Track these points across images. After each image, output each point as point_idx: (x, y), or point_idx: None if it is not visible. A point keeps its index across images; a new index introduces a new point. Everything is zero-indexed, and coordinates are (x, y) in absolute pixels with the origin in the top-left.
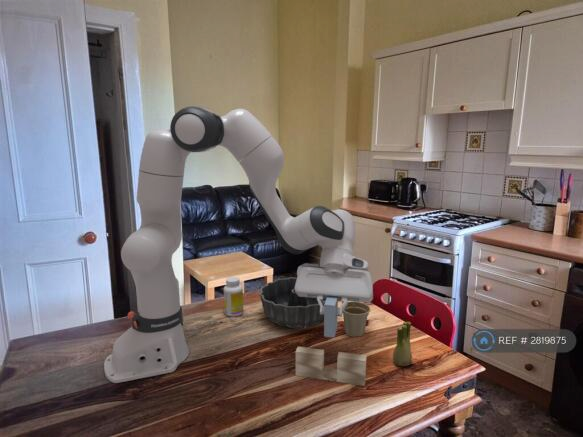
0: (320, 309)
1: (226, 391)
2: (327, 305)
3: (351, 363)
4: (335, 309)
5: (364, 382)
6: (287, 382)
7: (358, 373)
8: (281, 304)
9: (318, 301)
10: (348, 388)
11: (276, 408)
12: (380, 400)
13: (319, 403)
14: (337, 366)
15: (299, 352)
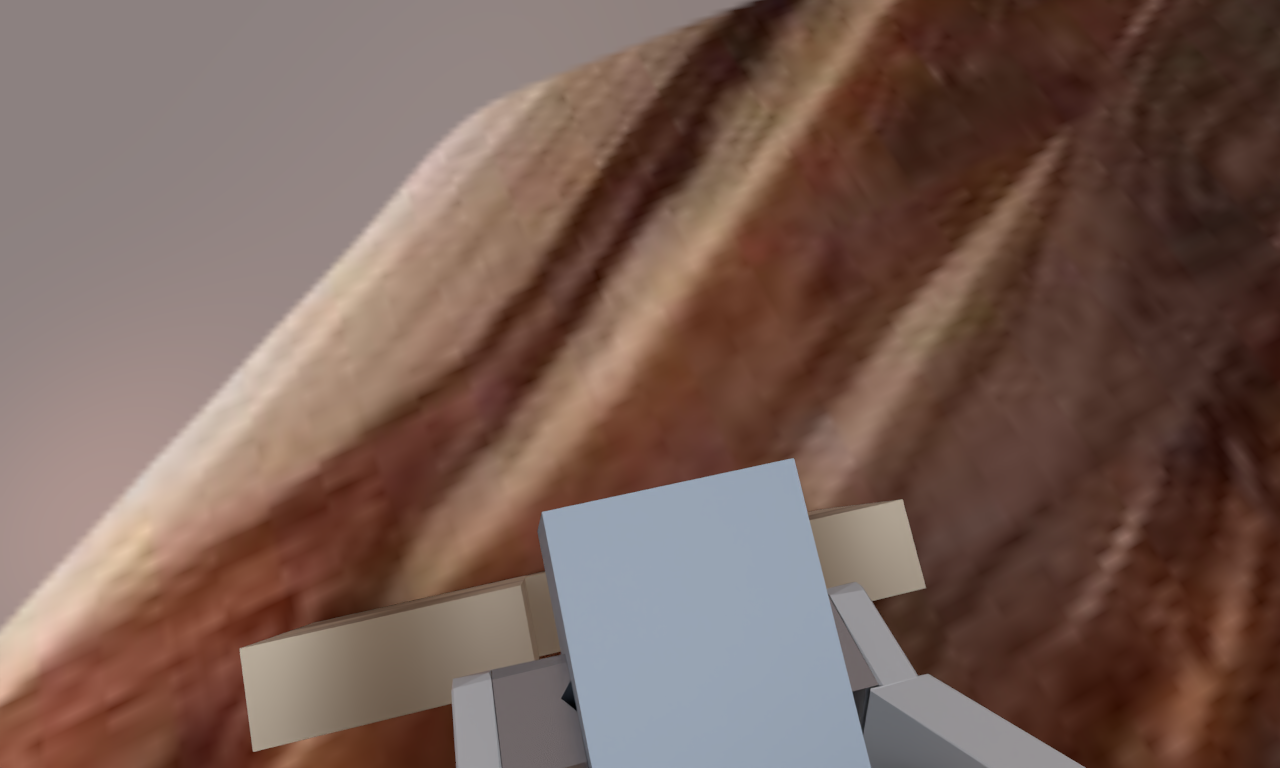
0: (871, 615)
1: (1102, 185)
2: (719, 476)
3: (391, 612)
4: (559, 616)
5: (310, 624)
6: (833, 415)
7: (344, 619)
8: None
9: (1021, 738)
10: (423, 540)
11: (773, 172)
12: (174, 513)
13: (558, 312)
14: (520, 581)
15: (867, 508)
